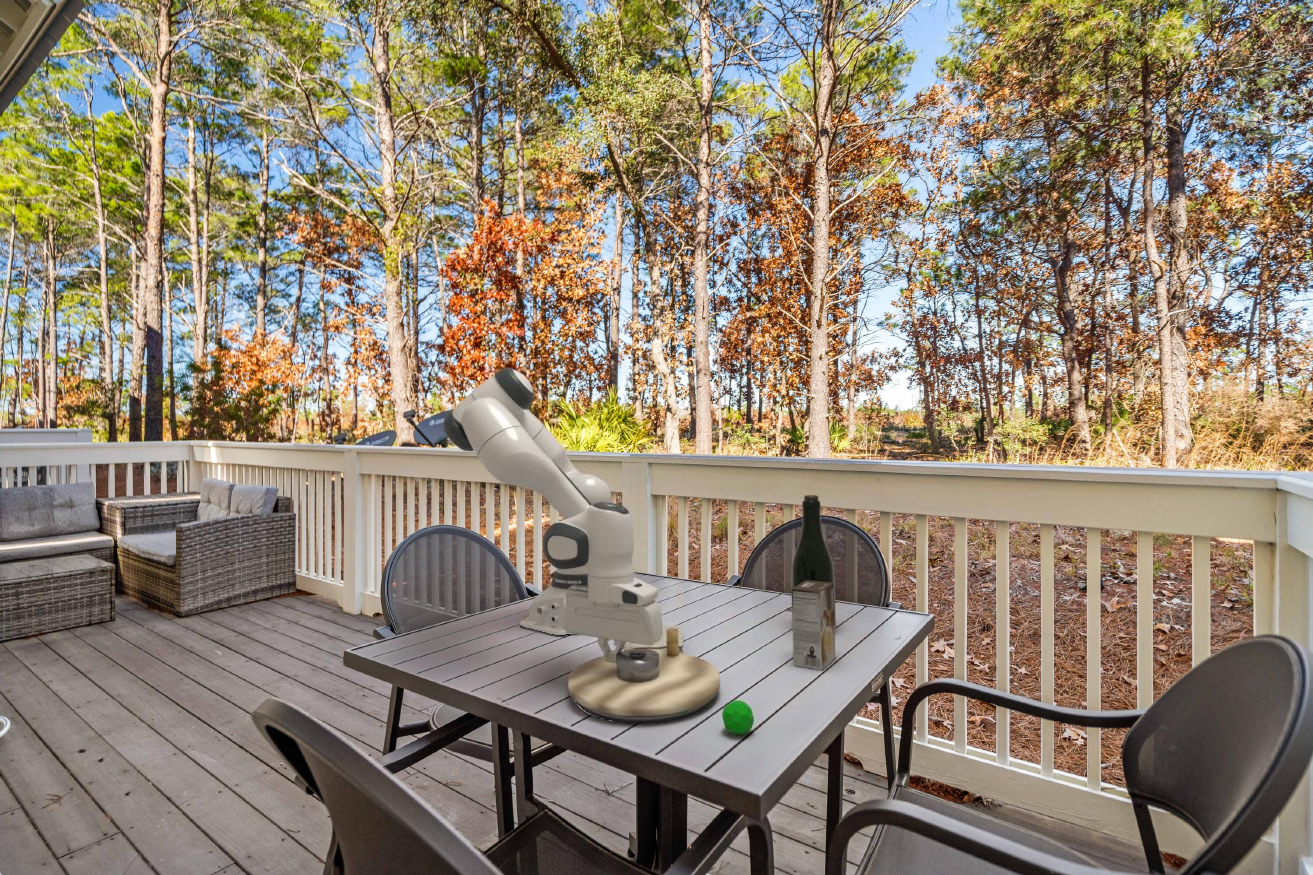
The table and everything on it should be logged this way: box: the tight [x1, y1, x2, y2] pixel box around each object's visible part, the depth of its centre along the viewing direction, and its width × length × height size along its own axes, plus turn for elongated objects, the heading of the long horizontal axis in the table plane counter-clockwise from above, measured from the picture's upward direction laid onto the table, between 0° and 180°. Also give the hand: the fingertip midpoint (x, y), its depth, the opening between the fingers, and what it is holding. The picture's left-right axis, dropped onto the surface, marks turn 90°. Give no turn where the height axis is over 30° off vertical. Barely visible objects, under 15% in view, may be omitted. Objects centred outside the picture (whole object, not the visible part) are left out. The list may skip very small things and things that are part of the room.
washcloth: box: [631, 625, 684, 654], centre depth 144 cm, size 12×18×3 cm, turn 1°
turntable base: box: [575, 642, 716, 725], centre depth 117 cm, size 26×26×4 cm
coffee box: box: [791, 580, 836, 671], centre depth 131 cm, size 9×6×16 cm
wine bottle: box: [791, 494, 837, 631], centre depth 153 cm, size 10×10×33 cm
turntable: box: [567, 628, 721, 716], centre depth 117 cm, size 28×28×6 cm
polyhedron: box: [721, 700, 755, 736], centre depth 100 cm, size 5×5×5 cm
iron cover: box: [616, 649, 659, 683], centre depth 117 cm, size 8×8×4 cm
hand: (611, 661), depth 119 cm, fingers closed
